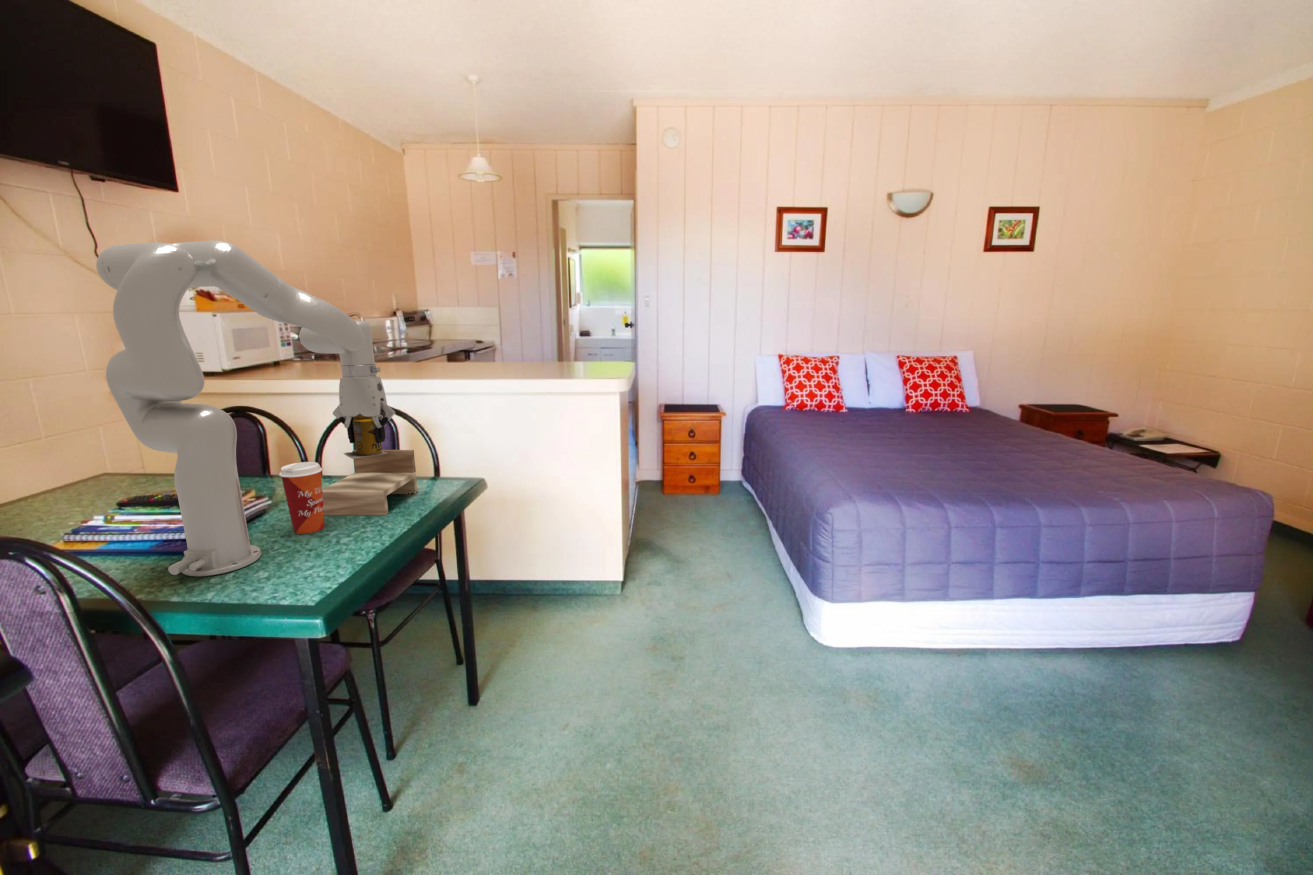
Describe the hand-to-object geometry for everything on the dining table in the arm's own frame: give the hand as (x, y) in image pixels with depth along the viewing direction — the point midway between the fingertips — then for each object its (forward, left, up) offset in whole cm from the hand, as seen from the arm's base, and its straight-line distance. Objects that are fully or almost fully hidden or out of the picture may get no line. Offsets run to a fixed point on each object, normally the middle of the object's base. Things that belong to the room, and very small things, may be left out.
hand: (367, 441), depth 144 cm
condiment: (0, +1, -3) cm, 4 cm away
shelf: (-1, 0, -16) cm, 16 cm away
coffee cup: (-19, +5, -16) cm, 26 cm away
